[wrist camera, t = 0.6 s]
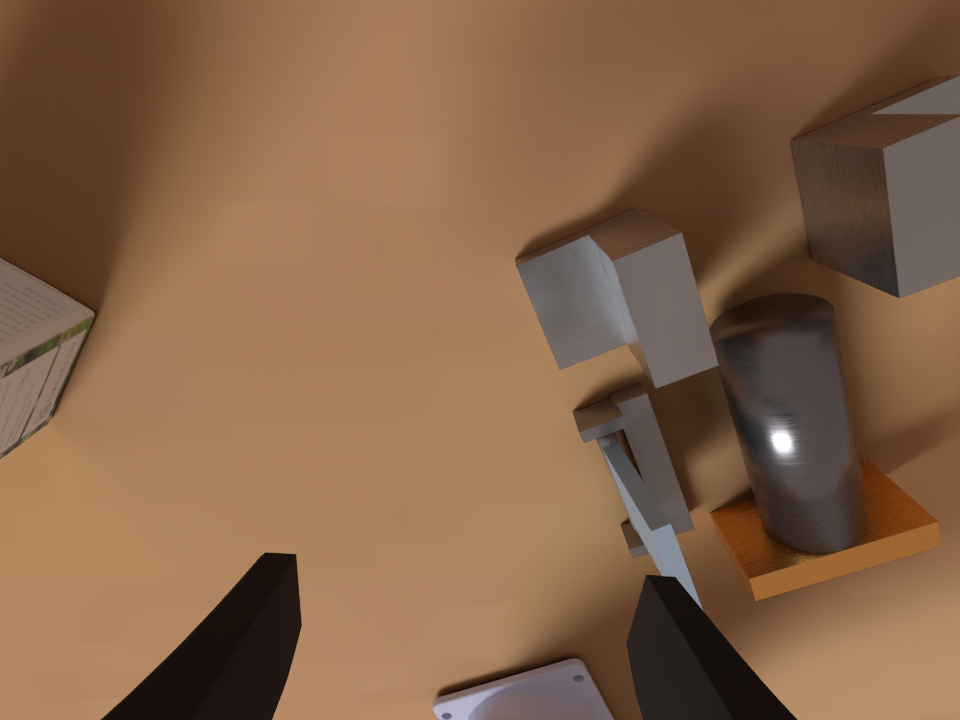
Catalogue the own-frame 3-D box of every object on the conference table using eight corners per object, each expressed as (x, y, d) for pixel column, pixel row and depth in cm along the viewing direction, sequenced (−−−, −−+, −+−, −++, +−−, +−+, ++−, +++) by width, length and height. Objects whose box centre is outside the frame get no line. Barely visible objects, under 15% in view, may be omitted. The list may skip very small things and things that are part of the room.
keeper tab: (645, 515, 22) (707, 618, 17) (630, 522, 22) (687, 626, 17) (611, 427, 20) (669, 515, 15) (593, 434, 20) (646, 524, 15)
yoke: (946, 207, 17) (1075, 232, 13) (556, 360, 19) (576, 418, 15) (937, 77, 15) (1081, 65, 12) (514, 259, 17) (524, 298, 14)
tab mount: (687, 515, 22) (700, 539, 21) (625, 535, 23) (634, 560, 21) (640, 382, 19) (652, 401, 18) (571, 408, 20) (577, 428, 19)
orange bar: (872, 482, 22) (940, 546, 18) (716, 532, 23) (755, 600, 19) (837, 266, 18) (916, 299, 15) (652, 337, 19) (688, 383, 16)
